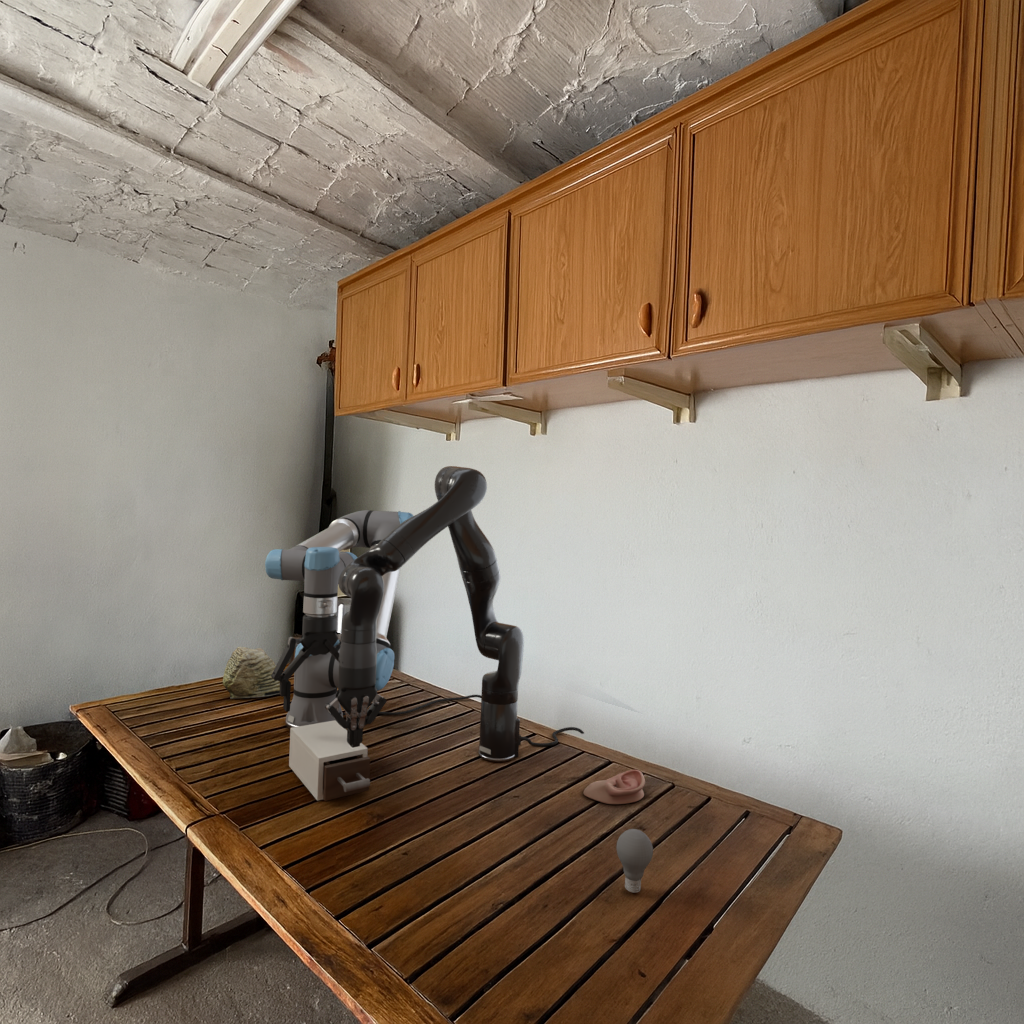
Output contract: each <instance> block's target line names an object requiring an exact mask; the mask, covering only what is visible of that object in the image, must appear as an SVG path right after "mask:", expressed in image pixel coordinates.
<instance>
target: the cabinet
mask: <svg viewBox="0 0 1024 1024" xmlns="http://www.w3.org/2000/svg"><path fill="white" fill-rule="evenodd" d="M368 749H369V748H368V747H367V746H366V745H365V744H363V742H362V743H360V746H359V747H354V748H352V747H351V746H350V745H349V744H348V743H347V728H345V729H344V728H343V727H342V726H340V725H339V724H338V723H337V721H336V720H334V721H328V722H322V723H316V724H311V725H305V726H299V727H293V728H290V729H289V757H288V766H289V768H290V769H291V770H292V772H293V773H294V774H295V775H296V777H297V778H298V779H299V780H300V782H301V783H302V784H303V785H304V787H305V788H306V789H307V790H308V791H309V793H310V794H311V795H312V796H313V798H314V799H315V800H316V801H317V802H318V801H324V799H323V769H324V762H328V761H333V760H337V759H342V758H347V757H352V756H357V755H360V756H361V758H364V757H368V753H369V752H368Z"/></svg>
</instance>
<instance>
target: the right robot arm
mask: <svg viewBox="0 0 1024 1024" xmlns="http://www.w3.org/2000/svg"><path fill="white" fill-rule="evenodd" d="M487 488H488V483H487V478H486V477H485V475H484V473H482V472H481V471H479V470H478V469H475V468H471V467H465V466H458V465H457V466H456V465H448V466H444V467H442V468H440V470H439V471H438V472H437V474H436V476H435V478H434V492H435V497H436V499H437V501H436V502H435V503H433V504H431V506H429V507H428V508H425V509H424V510H422V511H420V512H418V513H417V514H415V515H414V516H413V517H411V518H409V519H407V520H406V521H404V522H402V523H401V524H400V525H398V526H397V527H396V528H394V529H393V530H392V531H391V532H390V533H389V534H388V535H387V536H386V537H384V538H383V539H382V540H381V541H380V542H379V543H378V544H377V545H376V546H375V547H374V548H372V549H370V548H369V550H366V551H365V552H364V553H362V554H361V555H359V556H357V558H356V559H355V560H353V561H352V562H351V563H349V564H348V565H347V566H346V567H345V568H344V570H343V571H342V572H341V574H340V577H339V581H338V589H339V590H340V592H341V593H342V594H343V595H345V596H346V597H348V598H350V599H351V601H350V604H349V605H350V606H349V611H347V612H345V613H344V614H343V616H342V621H341V631H340V632H341V633H340V634H341V642H340V645H341V646H340V652H339V677H338V688H337V693H336V698H335V699H334V700H333V701H332V702H331V703H327V704H326V705H325V708H326V709H327V711H328V712H329V713H330V714H331V715H332V717H333V718H334V719H335V720H336V721H337V723H338V724H339V725H340V726H342V727H343V728H344V729H346V730H347V743H348V744H349V745H350V746H351V747H352V748H354V747H359V746H360V743H362V744H363V736H364V727H365V726H367V725H371V724H372V723H373V722H374V721H375V719H376V718H377V717H378V715H379V714H378V713H379V712H381V710H382V709H383V708H384V706H385V705H386V704H387V699H386V698H385V697H384V696H382V695H381V694H379V693H378V691H377V689H376V687H375V683H376V664H377V646H376V633H377V618H378V615H379V611H380V607H381V603H382V599H383V595H384V581H383V577H382V576H383V575H384V574H386V573H388V572H394V571H397V570H398V569H400V568H402V567H404V565H405V564H406V563H407V562H408V561H410V559H412V558H413V556H415V555H416V554H417V553H418V552H419V551H420V550H421V549H422V548H423V547H424V546H425V545H426V544H427V543H428V542H429V541H431V540H432V539H433V538H435V537H436V536H437V535H438V534H440V533H441V532H442V531H444V530H445V529H446V528H447V529H448V531H449V535H450V538H451V542H452V545H453V549H454V552H455V556H456V560H457V564H458V568H459V572H460V575H461V579H462V582H463V585H464V589H465V591H466V597H467V601H468V605H469V608H470V613H471V619H472V625H473V631H474V637H475V642H476V646H477V649H478V652H479V653H480V654H481V655H482V656H483V657H484V658H487V659H491V660H495V661H498V664H497V670H493V671H489V672H487V673H484V674H483V676H482V678H481V694H480V695H481V698H480V718H479V719H480V722H479V744H478V756H479V758H481V759H482V760H485V761H488V762H491V763H505V762H509V761H511V760H513V759H516V758H519V755H520V753H519V752H520V751H519V750H520V746H521V745H522V743H521V742H522V741H524V742H527V743H528V745H530V746H533V747H540V748H541V747H546V748H547V747H553V746H555V745H557V744H558V743H559V738H558V737H557V736H556V735H558V734H560V733H564V732H568V731H575V732H578V733H579V734H581V735H584V734H585V732H584V730H582V729H581V728H579V727H576V726H567V727H563V728H560V729H557V730H555V731H553V732H552V736H551V737H552V738H553V739H554V741H551V742H534V741H532V740H531V739H530V738H529V737H526V736H522V734H520V729H521V728H520V727H521V719H520V718H519V717H518V705H519V704H518V703H519V684H520V683H519V682H520V680H521V677H522V671H523V660H524V651H525V637H524V632H523V631H522V629H521V628H520V627H519V626H517V625H513V624H508V623H504V622H499V621H498V620H497V616H496V613H495V610H494V609H495V608H494V600H495V596H496V594H497V591H498V589H499V586H500V582H501V571H500V566H499V562H498V558H497V554H496V552H495V549H494V547H493V545H492V544H491V542H490V541H489V539H488V538H487V536H486V535H485V533H484V532H483V530H482V529H481V527H480V526H479V524H478V522H477V521H476V519H475V516H474V514H473V511H472V510H473V509H475V508H476V507H477V506H478V505H480V503H482V502H483V500H484V499H485V497H486V494H487V490H488V489H487ZM400 570H401V569H400ZM339 704H340V706H341V708H342V710H344V713H345V714H346V715H345V718H346V719H345V718H344V716H343V717H342V716H341V715H340V713H339V712H338V711H339V709H340V708H339Z"/></svg>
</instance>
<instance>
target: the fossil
mask: <svg viewBox="0 0 1024 1024" xmlns="http://www.w3.org/2000/svg"><path fill="white" fill-rule="evenodd" d="M276 665H277V664H276V663H275V662H274V660H273V659H272V658H271V657H270V656H269V655H268V654H267V653H266V652H265V650H264V649H263V648H260V647H258V648H251V647H247V646H246V647H245V646H238V647H237V648H236V649H235V650H233V651H232V653H231V656H230V657H229V659H228V660H227V663H226V666H225V668H224V671H223V675H222V676H223V677H222V685H223V687H224V688H225V690H226V691H228V693H229V698H230V699H250V698H264V697H271V696H275V695H280V693H279V691H280V681H275V680H274V679H273V678H272V677H271V675H272V673H273V671H274V669H275V667H276Z"/></svg>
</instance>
